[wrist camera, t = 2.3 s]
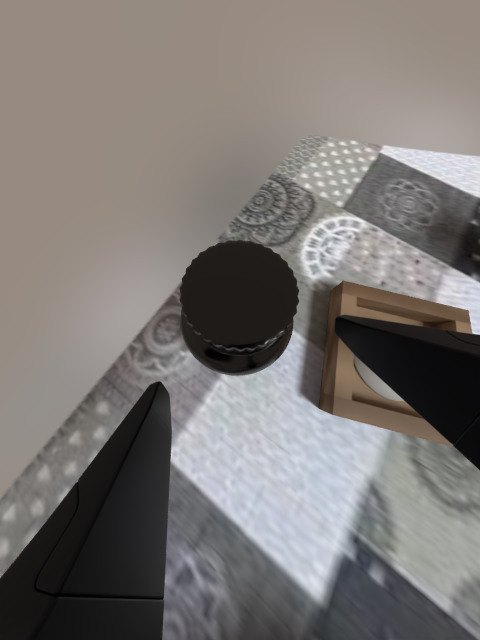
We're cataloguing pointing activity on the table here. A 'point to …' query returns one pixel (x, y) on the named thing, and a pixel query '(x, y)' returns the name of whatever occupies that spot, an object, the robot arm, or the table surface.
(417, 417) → the holder
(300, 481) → the table surface
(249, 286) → the supplement bottle
